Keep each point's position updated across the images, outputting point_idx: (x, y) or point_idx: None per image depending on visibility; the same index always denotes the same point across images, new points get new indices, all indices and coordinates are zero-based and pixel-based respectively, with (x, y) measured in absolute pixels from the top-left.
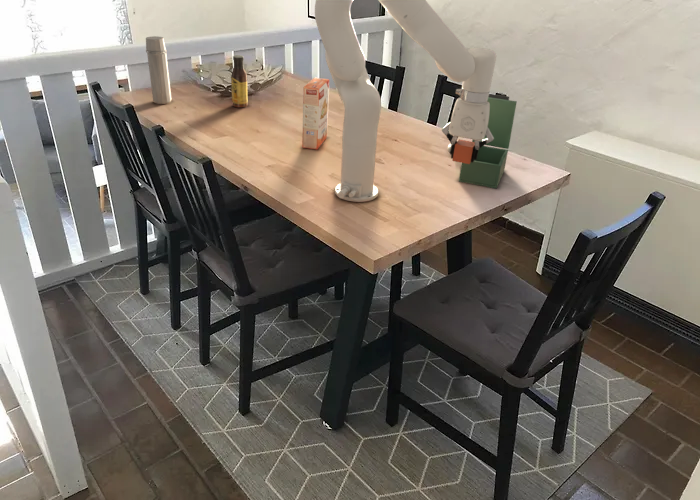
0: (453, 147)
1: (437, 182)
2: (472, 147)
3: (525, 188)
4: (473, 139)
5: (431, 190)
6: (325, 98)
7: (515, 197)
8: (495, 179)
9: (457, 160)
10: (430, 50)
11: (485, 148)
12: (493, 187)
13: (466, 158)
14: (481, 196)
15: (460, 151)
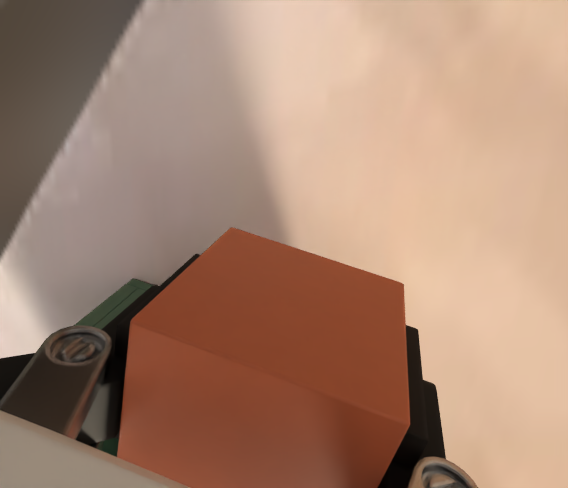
0: (417, 414)
1: (439, 319)
2: (134, 324)
3: (18, 297)
4: (36, 425)
5: (499, 202)
6: None
7: (44, 190)
8: (118, 305)
9: (352, 272)
10: None
11: None
12: (145, 283)
13: (253, 261)
14: (202, 170)
15: (321, 324)
